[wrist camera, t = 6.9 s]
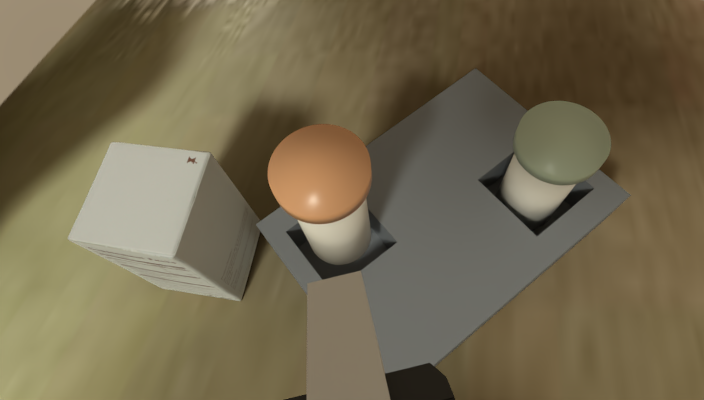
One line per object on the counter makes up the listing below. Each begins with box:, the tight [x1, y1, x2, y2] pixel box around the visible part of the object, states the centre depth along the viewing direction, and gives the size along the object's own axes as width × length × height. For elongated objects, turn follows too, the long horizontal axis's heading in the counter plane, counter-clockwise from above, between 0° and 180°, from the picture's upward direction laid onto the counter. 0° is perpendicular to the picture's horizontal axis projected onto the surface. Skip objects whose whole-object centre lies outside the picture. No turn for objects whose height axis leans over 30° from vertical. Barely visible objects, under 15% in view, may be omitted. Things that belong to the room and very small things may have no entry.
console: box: [256, 68, 631, 373], centre depth 36 cm, size 16×23×5 cm
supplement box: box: [68, 142, 260, 301], centre depth 34 cm, size 7×7×13 cm
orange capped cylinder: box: [268, 124, 372, 265], centre depth 29 cm, size 6×6×10 cm
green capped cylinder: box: [495, 101, 611, 230], centre depth 33 cm, size 6×6×10 cm
